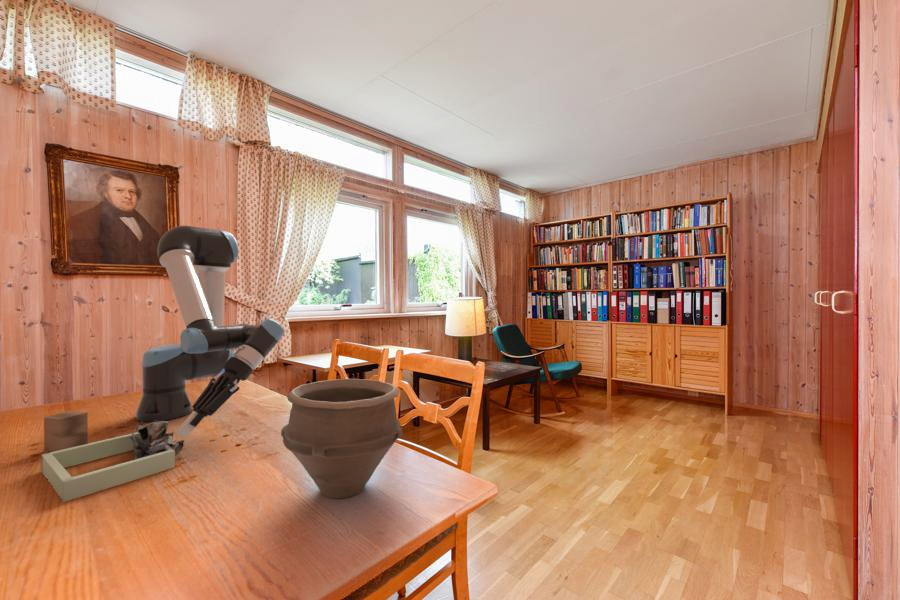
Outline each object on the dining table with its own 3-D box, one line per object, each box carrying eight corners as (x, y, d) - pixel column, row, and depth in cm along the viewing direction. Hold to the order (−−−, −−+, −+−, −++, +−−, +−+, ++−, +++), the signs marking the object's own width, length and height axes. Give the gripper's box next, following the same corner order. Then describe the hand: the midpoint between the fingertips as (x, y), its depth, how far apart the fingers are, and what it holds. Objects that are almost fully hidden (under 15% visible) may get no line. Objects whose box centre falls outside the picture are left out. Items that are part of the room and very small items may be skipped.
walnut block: (72, 442, 106) (72, 410, 106) (87, 445, 104) (87, 412, 104) (44, 451, 100) (43, 417, 100) (60, 454, 98) (59, 419, 98)
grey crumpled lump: (104, 456, 90) (140, 406, 102) (125, 482, 96) (156, 431, 108) (158, 452, 91) (186, 403, 103) (175, 478, 97) (200, 428, 109)
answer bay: (142, 445, 104) (142, 430, 104) (174, 467, 92) (174, 450, 91) (41, 471, 89) (41, 454, 89) (63, 502, 76) (63, 482, 76)
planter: (271, 480, 86) (270, 382, 85) (371, 454, 100) (371, 369, 99) (302, 538, 65) (300, 410, 65) (422, 495, 80) (421, 389, 79)
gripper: (222, 353, 116) (158, 424, 103) (245, 357, 109) (178, 433, 95) (240, 368, 121) (181, 437, 107) (263, 373, 113) (202, 447, 100)
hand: (180, 435), depth 101 cm, fingers closed
